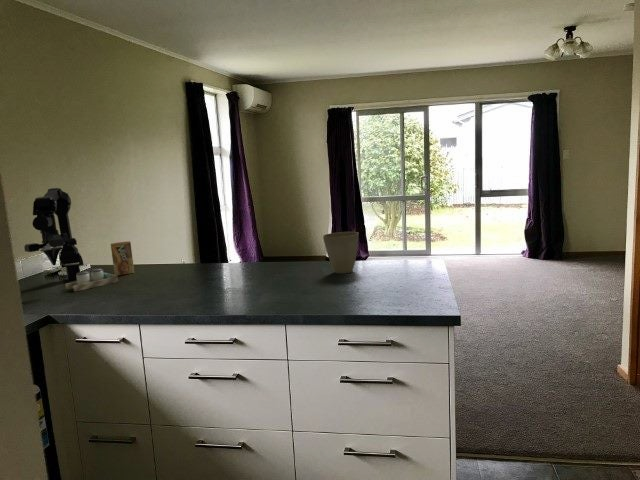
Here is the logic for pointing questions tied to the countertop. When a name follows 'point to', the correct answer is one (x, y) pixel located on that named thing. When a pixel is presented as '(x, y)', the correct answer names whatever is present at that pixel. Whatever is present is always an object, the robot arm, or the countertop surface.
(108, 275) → the follower
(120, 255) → the candy box
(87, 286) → the lane
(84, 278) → the jar
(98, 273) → the jar in lane
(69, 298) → the countertop surface
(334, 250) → the plant pot
